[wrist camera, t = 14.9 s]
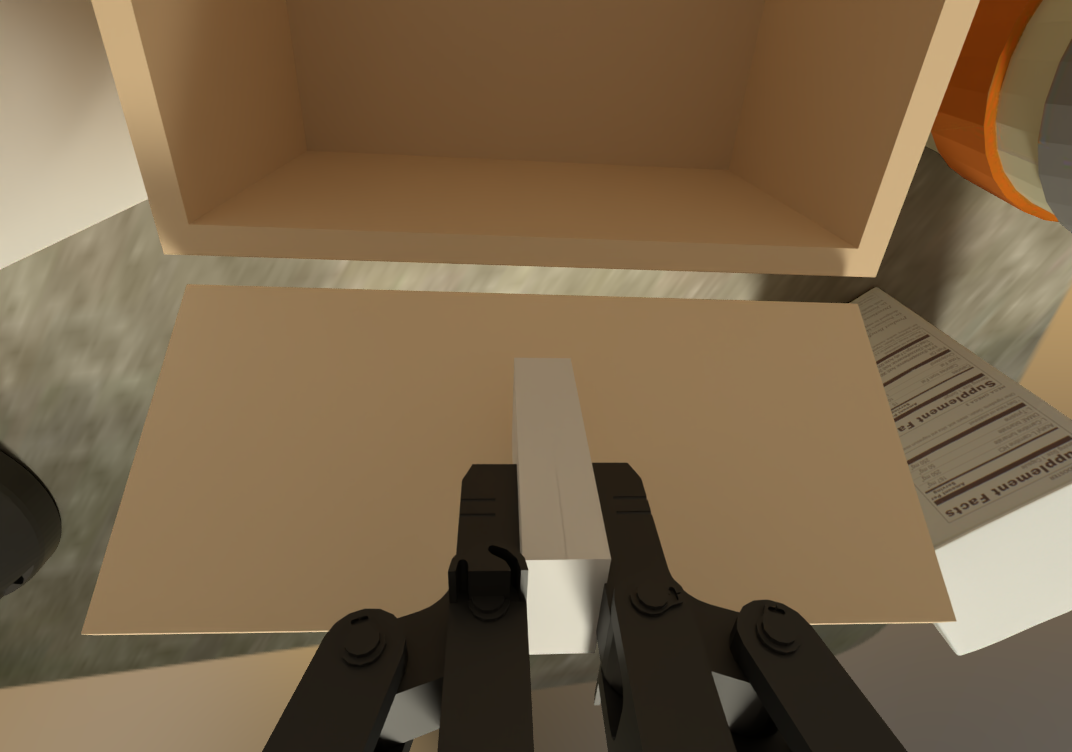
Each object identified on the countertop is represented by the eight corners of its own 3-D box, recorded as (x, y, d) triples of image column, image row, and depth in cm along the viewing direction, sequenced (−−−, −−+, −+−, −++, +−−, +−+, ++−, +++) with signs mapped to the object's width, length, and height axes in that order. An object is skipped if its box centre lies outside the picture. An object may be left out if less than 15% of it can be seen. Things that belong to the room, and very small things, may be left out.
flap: (186, 284, 18) (195, 295, 19) (81, 634, 14) (96, 635, 14) (857, 303, 20) (848, 313, 20) (956, 621, 15) (940, 622, 16)
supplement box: (744, 363, 38) (891, 564, 24) (876, 280, 36) (1129, 450, 21) (804, 449, 43) (960, 664, 28) (925, 381, 40) (1166, 579, 26)
